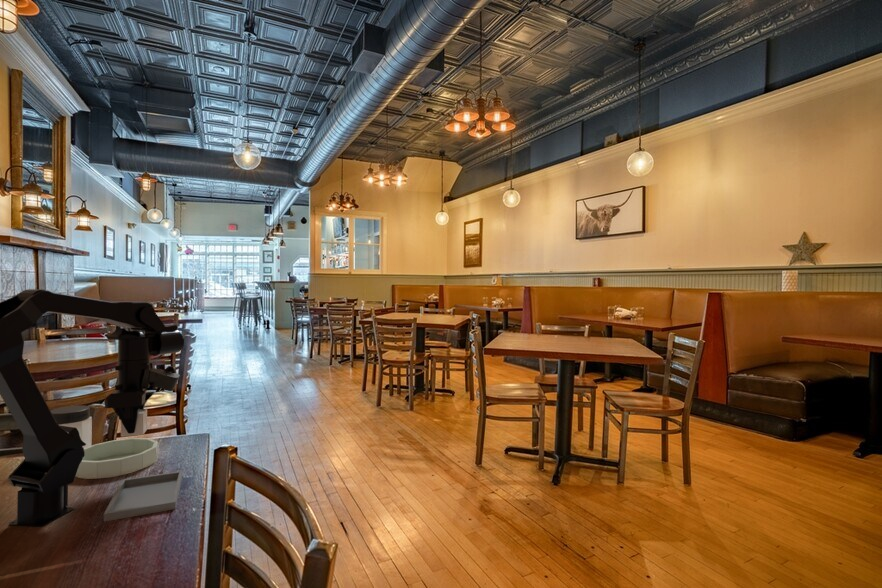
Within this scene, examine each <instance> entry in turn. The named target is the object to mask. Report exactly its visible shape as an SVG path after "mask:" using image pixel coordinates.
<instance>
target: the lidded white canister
mask: <svg viewBox="0 0 882 588" xmlns="http://www.w3.org/2000/svg"><path fill="white" fill-rule="evenodd" d="M50 411H51V413H52V414H53V416H54V418H55V420H56V422H57V424H58V425H60V426H67V427H75V428H77V430H78V431H79V435H80V438H81V440H82V441H83V442H84V443H86V445H85V446H83V448H87V447H89V446H92V444H93V443H92V442H93V441H92V438H93V437H92V435H93V434H92V432H93V429H92V426H93V417H92V416H90V415H91V413H90V412H91V407H90V406H89V405H70V406H69V405H68V406H62V407H57V408H52V409H50Z"/></svg>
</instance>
